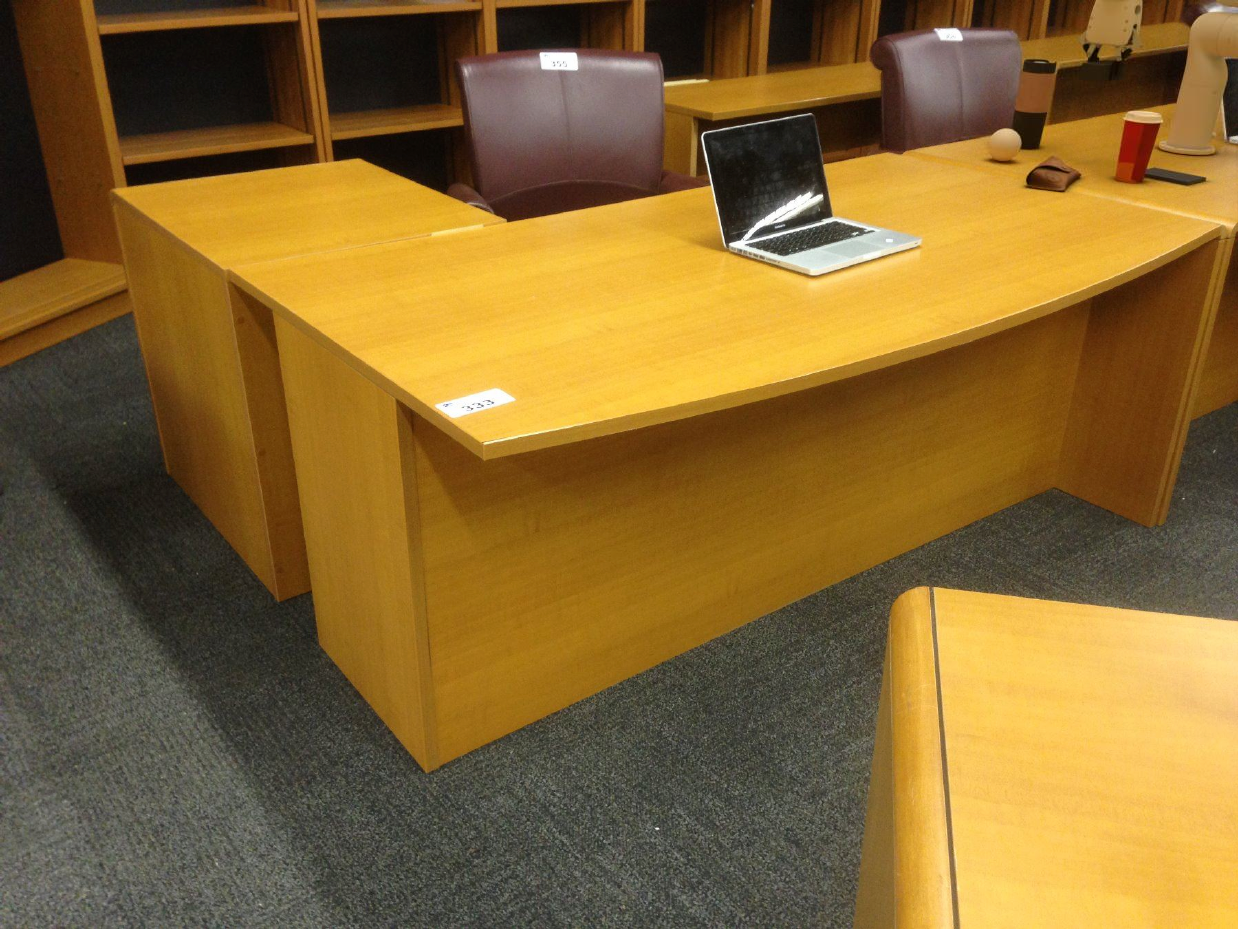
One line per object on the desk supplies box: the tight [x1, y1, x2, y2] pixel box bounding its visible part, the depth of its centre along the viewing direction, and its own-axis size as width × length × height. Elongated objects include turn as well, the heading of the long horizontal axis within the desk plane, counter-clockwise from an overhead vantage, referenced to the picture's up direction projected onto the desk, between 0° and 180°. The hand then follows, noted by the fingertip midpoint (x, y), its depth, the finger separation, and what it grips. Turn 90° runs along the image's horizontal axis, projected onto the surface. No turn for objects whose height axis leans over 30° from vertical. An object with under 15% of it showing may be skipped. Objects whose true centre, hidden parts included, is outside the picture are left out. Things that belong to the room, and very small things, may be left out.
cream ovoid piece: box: [987, 128, 1022, 162], centre depth 244 cm, size 10×7×7 cm
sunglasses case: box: [1025, 155, 1083, 192], centre depth 226 cm, size 18×7×7 cm, turn 149°
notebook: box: [1144, 166, 1207, 186], centre depth 232 cm, size 8×12×1 cm, turn 37°
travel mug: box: [1011, 58, 1058, 150], centre depth 256 cm, size 8×8×20 cm
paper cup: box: [1114, 110, 1164, 184], centre depth 226 cm, size 8×8×14 cm
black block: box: [1078, 59, 1129, 83], centre depth 233 cm, size 10×5×4 cm, turn 127°
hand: (1102, 76), depth 234 cm, fingers closed on black block, 5 cm apart
